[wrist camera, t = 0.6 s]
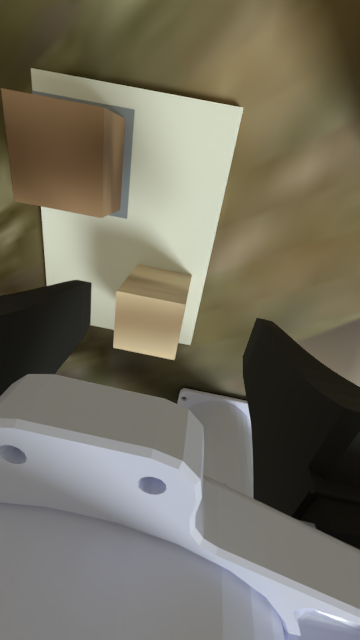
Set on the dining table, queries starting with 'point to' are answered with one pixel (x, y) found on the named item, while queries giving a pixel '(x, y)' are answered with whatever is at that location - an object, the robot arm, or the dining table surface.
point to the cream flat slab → (145, 193)
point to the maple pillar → (151, 311)
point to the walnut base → (64, 153)
